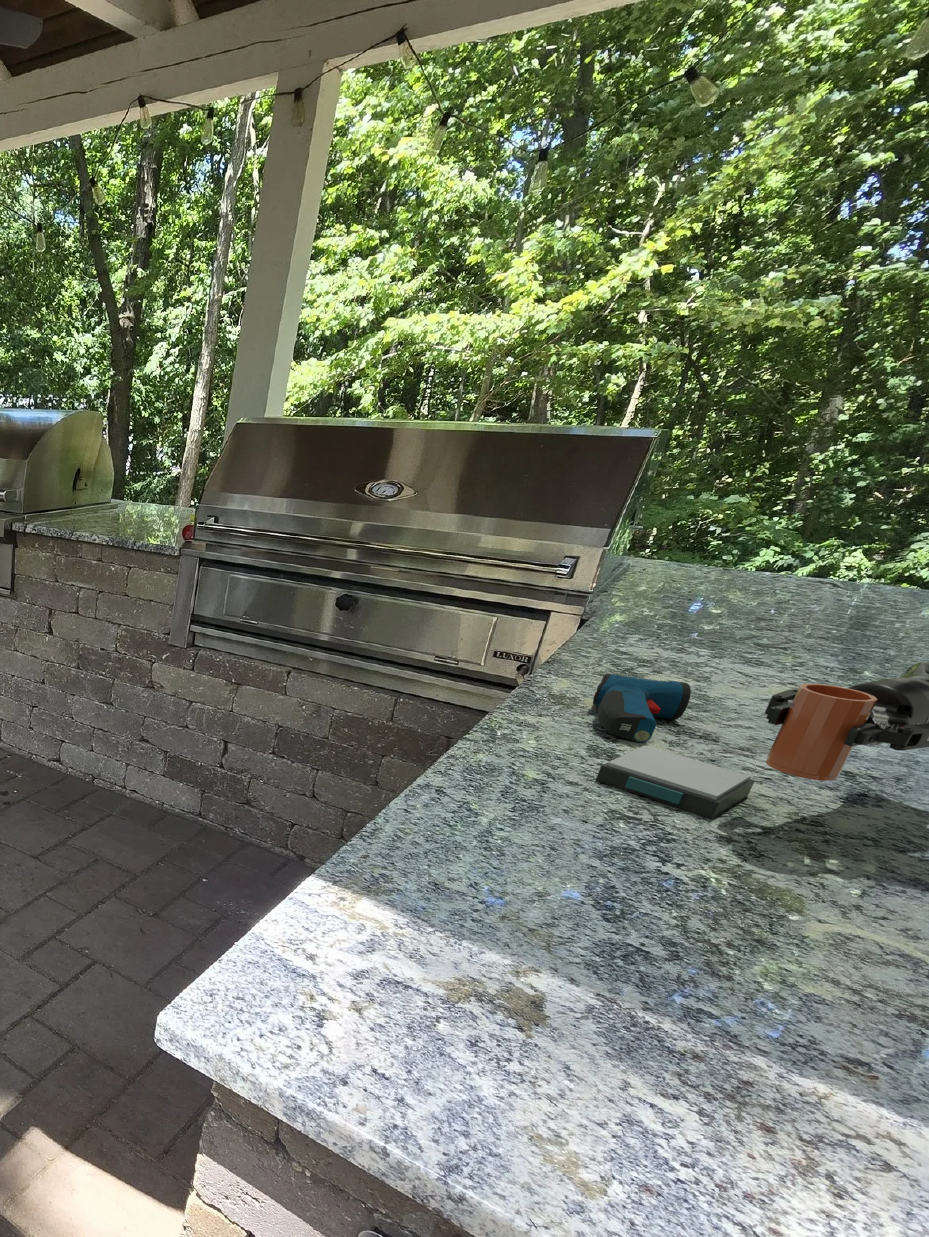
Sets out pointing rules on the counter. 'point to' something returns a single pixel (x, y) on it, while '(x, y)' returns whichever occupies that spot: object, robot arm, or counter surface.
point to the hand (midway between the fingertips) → (812, 726)
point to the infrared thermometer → (638, 704)
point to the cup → (819, 731)
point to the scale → (677, 780)
